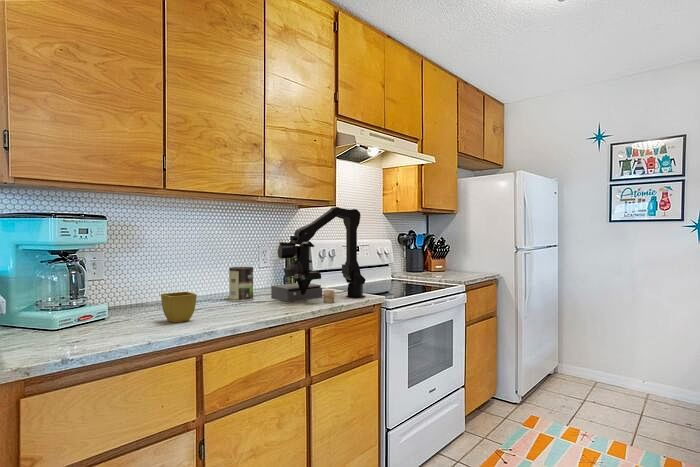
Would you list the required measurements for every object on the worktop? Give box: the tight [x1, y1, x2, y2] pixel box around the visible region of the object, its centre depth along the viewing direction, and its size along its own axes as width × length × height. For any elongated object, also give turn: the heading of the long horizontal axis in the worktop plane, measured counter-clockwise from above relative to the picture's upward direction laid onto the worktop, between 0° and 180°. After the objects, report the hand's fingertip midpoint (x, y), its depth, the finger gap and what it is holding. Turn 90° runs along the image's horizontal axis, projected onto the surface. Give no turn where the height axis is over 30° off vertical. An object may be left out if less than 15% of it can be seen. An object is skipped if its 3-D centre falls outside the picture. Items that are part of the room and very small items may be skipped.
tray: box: [287, 287, 323, 301], centre depth 179 cm, size 18×13×4 cm
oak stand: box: [323, 289, 335, 304], centre depth 167 cm, size 4×4×5 cm
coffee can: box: [228, 266, 254, 303], centre depth 174 cm, size 10×10×14 cm
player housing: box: [270, 282, 323, 303], centre depth 179 cm, size 18×14×6 cm
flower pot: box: [160, 291, 198, 324], centre depth 132 cm, size 9×9×9 cm
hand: (302, 294), depth 169 cm, fingers closed
